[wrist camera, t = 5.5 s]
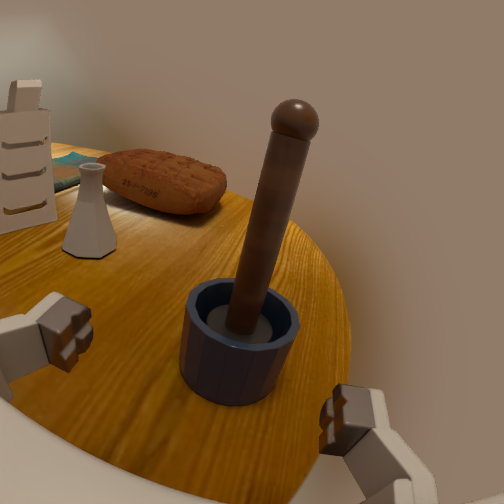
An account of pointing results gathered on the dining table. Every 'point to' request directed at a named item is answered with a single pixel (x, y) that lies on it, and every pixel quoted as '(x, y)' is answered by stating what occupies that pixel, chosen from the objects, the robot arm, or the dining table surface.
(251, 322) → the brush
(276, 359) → the holder
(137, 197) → the cuneiform tablet
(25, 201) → the grater
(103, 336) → the dining table surface
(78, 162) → the dish towel
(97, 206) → the flask
